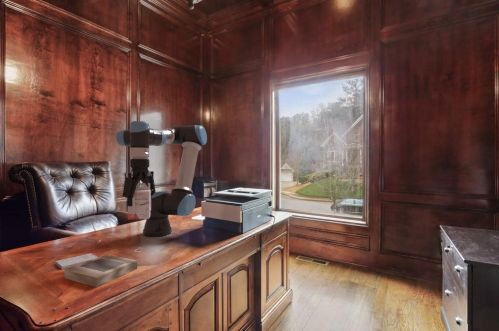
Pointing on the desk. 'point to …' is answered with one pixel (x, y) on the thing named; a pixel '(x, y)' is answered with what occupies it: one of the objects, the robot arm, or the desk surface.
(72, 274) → the ash base block
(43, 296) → the desk surface
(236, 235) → the desk surface
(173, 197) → the robot arm
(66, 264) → the external hard drive
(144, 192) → the ink cartridge box
